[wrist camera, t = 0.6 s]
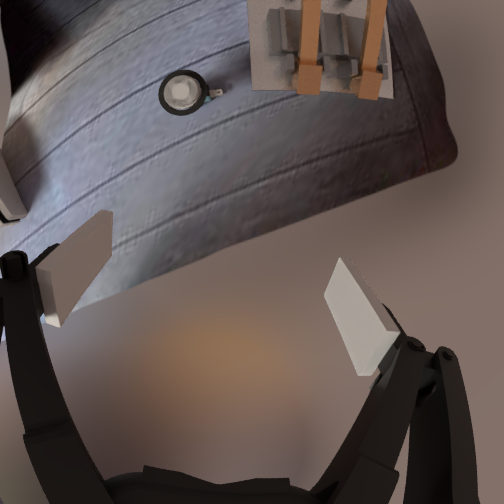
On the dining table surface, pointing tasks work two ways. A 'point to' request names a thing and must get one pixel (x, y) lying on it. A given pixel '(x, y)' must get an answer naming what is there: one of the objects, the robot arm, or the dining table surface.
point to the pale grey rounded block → (9, 198)
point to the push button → (185, 92)
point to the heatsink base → (271, 63)
